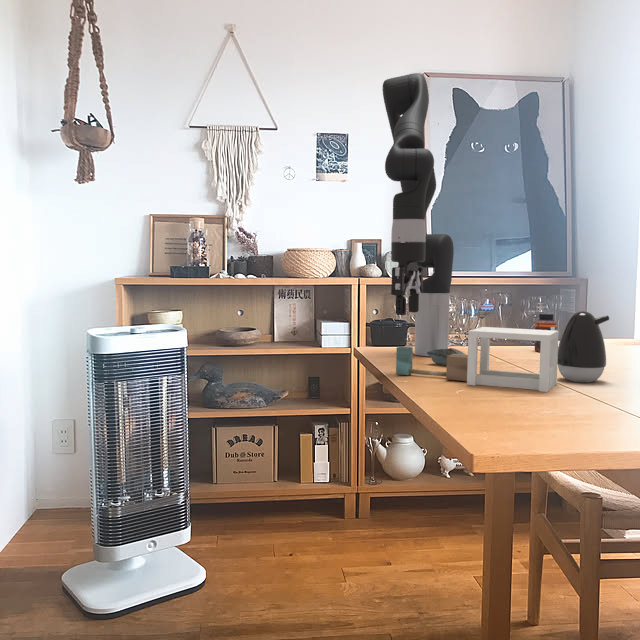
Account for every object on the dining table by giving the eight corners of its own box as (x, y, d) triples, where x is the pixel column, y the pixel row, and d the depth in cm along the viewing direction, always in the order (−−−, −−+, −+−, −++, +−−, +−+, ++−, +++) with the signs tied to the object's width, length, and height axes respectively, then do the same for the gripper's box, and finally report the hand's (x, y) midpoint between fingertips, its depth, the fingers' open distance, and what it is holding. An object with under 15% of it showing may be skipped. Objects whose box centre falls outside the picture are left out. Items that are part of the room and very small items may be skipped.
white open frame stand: (481, 377, 155) (483, 326, 154) (556, 383, 148) (558, 330, 147) (466, 384, 145) (468, 330, 144) (547, 392, 137) (549, 335, 136)
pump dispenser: (607, 385, 146) (610, 313, 145) (554, 382, 149) (557, 311, 148) (605, 378, 155) (608, 310, 154) (556, 375, 159) (558, 309, 158)
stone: (434, 365, 181) (421, 358, 173) (438, 351, 182) (425, 342, 173) (474, 373, 176) (462, 366, 167) (477, 358, 176) (466, 350, 168)
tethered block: (402, 371, 160) (402, 345, 160) (475, 378, 152) (476, 350, 152) (394, 374, 156) (394, 347, 155) (469, 381, 148) (470, 353, 147)
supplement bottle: (558, 353, 203) (560, 314, 202) (537, 352, 203) (539, 313, 202) (551, 350, 209) (553, 312, 208) (531, 350, 209) (533, 312, 208)
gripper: (403, 241, 163) (402, 310, 164) (380, 239, 150) (379, 315, 151) (434, 241, 159) (433, 312, 161) (414, 239, 147) (412, 316, 148)
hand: (407, 313), depth 156 cm, fingers open, 8 cm apart
